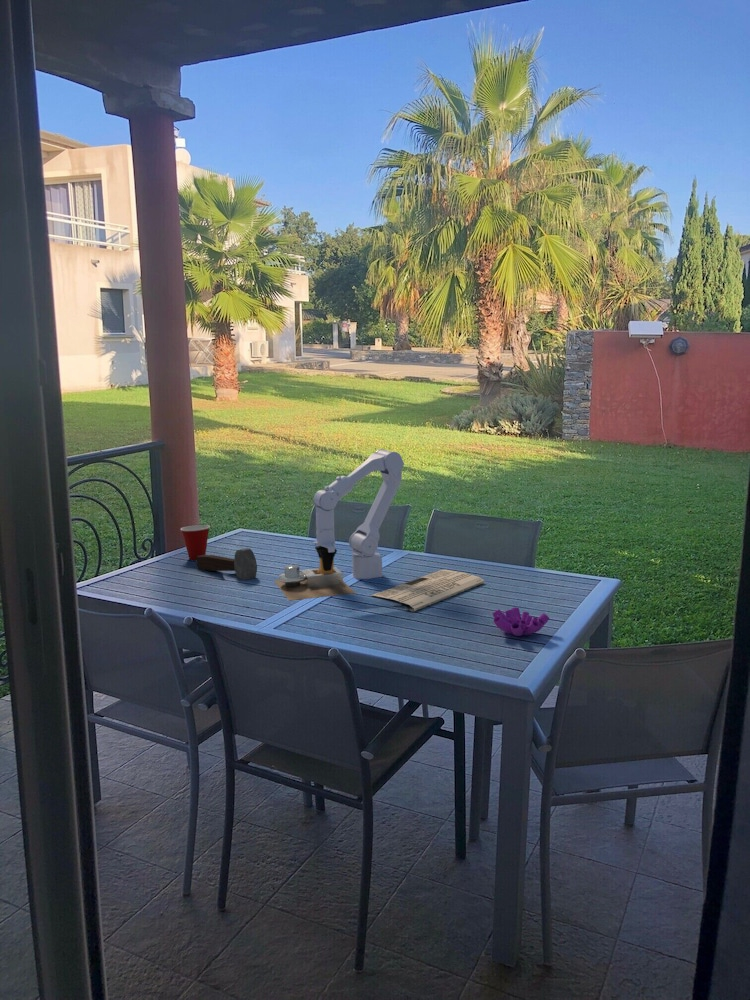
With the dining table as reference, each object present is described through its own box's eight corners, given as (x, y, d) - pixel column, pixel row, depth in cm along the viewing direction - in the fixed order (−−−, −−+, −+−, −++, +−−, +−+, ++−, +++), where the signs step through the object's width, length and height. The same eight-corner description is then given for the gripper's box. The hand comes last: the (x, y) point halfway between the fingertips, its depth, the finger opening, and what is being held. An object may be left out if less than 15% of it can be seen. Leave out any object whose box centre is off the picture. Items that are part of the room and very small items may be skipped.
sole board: (336, 578, 263) (336, 574, 262) (356, 597, 242) (356, 593, 242) (274, 585, 256) (274, 580, 256) (289, 605, 236) (288, 600, 235)
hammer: (196, 579, 277) (247, 584, 256) (192, 547, 276) (242, 550, 255) (207, 576, 280) (258, 581, 259) (203, 545, 279) (254, 548, 258)
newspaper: (440, 575, 267) (440, 567, 266) (488, 586, 254) (488, 577, 254) (368, 602, 240) (368, 593, 239) (418, 615, 227) (418, 606, 227)
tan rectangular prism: (331, 577, 256) (331, 557, 255) (333, 580, 253) (333, 558, 252) (319, 578, 254) (319, 557, 253) (321, 580, 252) (321, 559, 251)
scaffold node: (335, 576, 259) (335, 559, 258) (343, 583, 251) (342, 565, 250) (276, 582, 253) (275, 564, 252) (282, 590, 245) (281, 571, 244)
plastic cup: (202, 552, 298) (200, 521, 296) (217, 558, 290) (215, 526, 288) (176, 558, 291) (174, 526, 289) (191, 563, 283) (189, 531, 281)
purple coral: (539, 654, 205) (529, 632, 199) (489, 640, 214) (478, 619, 208) (556, 620, 210) (547, 597, 204) (507, 608, 220) (497, 587, 214)
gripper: (307, 524, 256) (308, 564, 259) (318, 533, 243) (319, 576, 245) (328, 522, 259) (329, 562, 261) (340, 531, 245) (341, 573, 248)
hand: (326, 569), depth 253 cm, fingers closed on tan rectangular prism, 2 cm apart
